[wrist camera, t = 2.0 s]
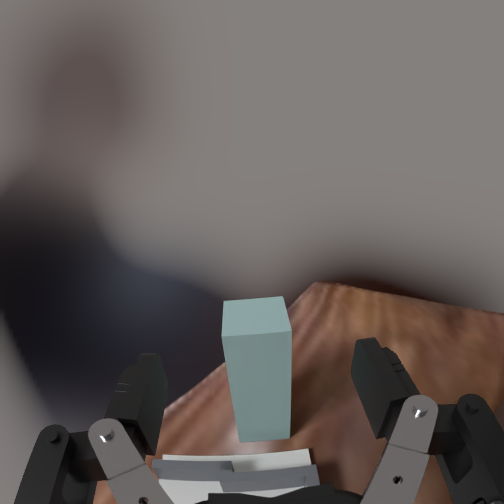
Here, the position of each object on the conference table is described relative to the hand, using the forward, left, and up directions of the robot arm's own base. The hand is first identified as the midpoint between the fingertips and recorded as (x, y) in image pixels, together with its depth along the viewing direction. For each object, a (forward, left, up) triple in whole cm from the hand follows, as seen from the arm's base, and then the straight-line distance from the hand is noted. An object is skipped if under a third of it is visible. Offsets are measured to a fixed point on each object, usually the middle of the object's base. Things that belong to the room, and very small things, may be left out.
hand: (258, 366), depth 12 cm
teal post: (0, -11, -19) cm, 22 cm away
